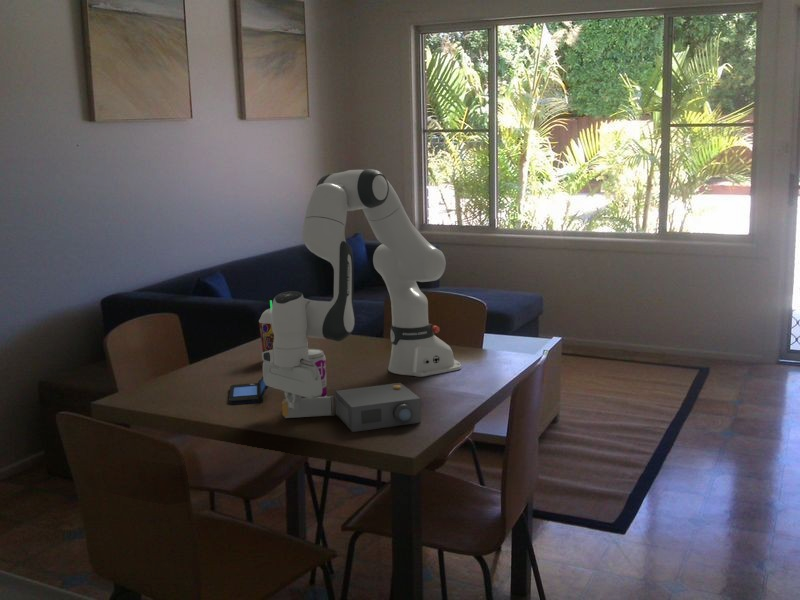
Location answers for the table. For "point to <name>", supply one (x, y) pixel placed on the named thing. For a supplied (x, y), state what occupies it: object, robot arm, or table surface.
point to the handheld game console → (247, 392)
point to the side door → (310, 407)
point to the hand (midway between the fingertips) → (293, 408)
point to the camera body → (377, 407)
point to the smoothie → (266, 329)
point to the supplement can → (319, 367)
